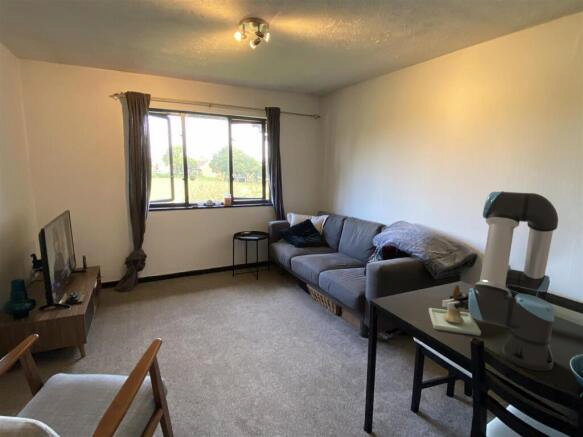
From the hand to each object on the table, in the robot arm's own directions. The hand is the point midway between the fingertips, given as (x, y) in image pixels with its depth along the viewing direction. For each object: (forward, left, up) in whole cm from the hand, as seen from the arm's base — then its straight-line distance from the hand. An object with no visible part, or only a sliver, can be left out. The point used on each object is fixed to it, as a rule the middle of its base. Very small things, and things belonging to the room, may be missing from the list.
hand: (445, 305), depth 141 cm
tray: (+3, -4, -9) cm, 11 cm away
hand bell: (+3, -4, -8) cm, 10 cm away
